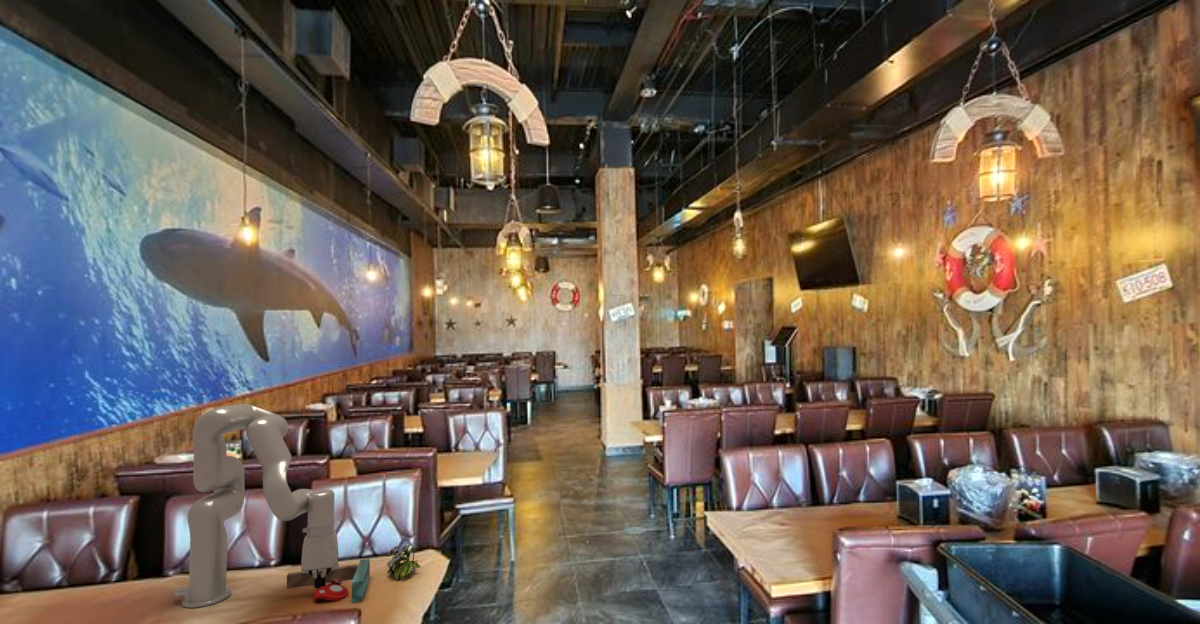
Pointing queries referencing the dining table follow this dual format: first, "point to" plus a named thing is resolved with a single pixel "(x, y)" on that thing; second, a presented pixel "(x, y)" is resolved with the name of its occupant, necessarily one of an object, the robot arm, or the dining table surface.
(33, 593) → the dining table surface
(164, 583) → the dining table surface
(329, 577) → the frame
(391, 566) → the passion flower
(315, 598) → the tracker holder
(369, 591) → the dining table surface
